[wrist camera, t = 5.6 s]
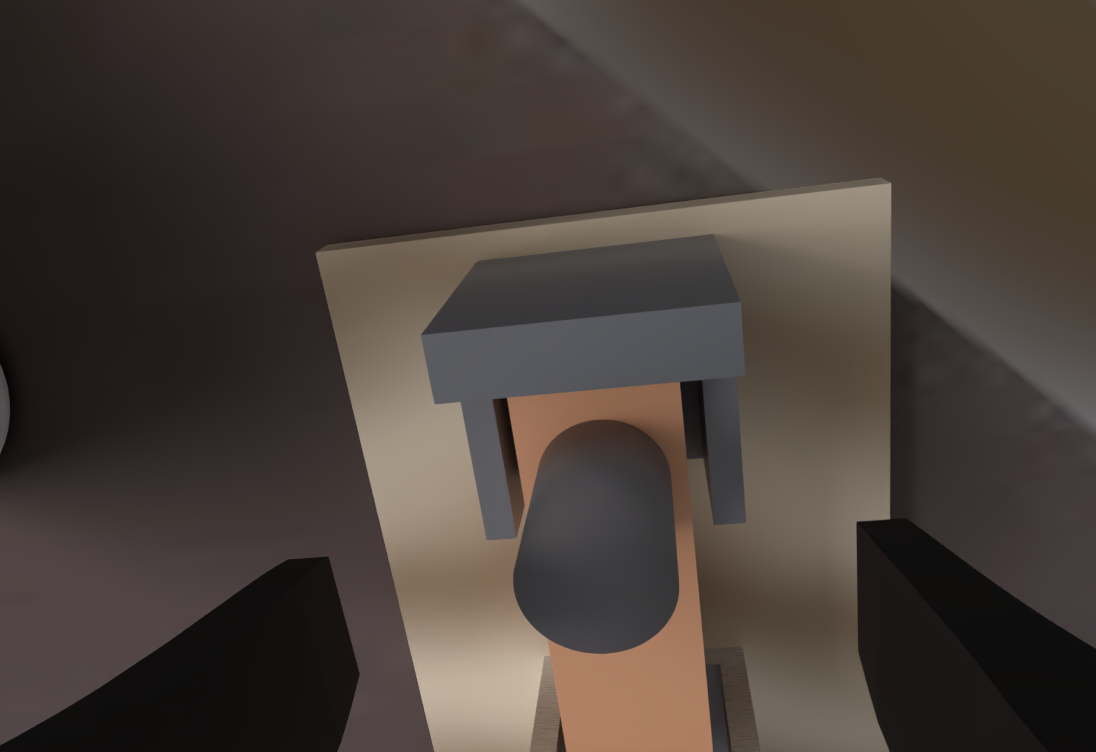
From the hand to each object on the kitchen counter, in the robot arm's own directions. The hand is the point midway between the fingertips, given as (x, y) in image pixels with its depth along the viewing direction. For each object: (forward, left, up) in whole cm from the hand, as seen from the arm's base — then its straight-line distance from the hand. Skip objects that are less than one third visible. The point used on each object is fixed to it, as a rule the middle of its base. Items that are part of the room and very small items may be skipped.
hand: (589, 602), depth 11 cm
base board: (-6, 0, -9) cm, 10 cm away
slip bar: (-4, 0, -8) cm, 9 cm away
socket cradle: (+1, 0, -8) cm, 8 cm away
